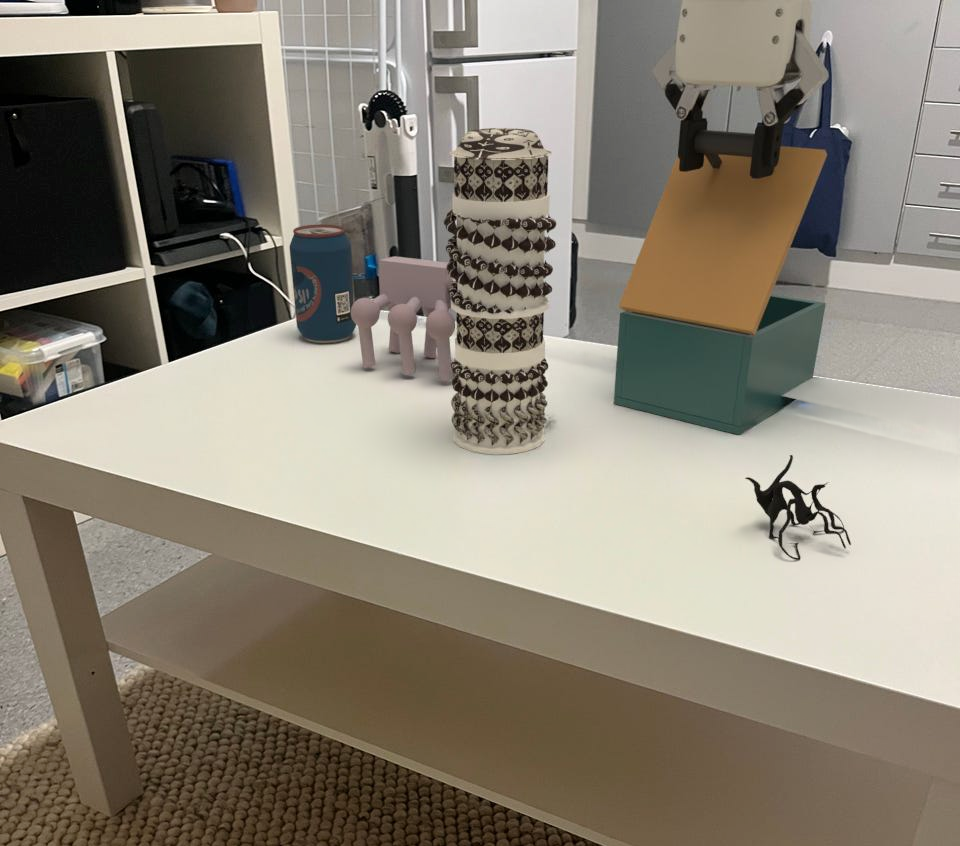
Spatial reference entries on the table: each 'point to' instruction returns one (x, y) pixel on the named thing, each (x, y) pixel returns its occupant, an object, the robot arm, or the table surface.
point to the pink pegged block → (409, 311)
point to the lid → (722, 235)
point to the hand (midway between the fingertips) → (725, 171)
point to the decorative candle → (499, 289)
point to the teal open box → (717, 365)
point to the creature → (801, 509)
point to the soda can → (322, 283)
